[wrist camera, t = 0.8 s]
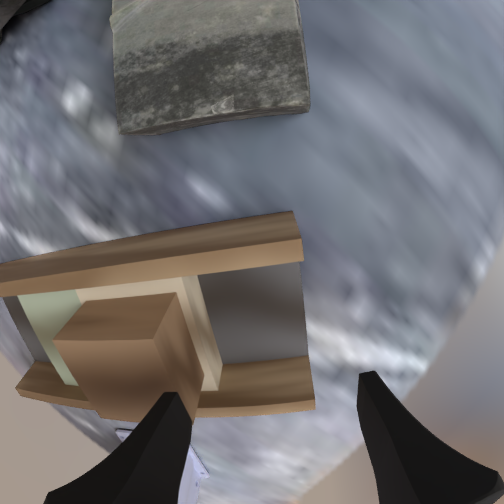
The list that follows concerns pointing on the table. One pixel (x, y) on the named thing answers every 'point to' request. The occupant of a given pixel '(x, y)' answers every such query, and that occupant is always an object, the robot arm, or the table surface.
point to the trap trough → (192, 303)
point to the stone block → (206, 62)
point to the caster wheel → (16, 9)
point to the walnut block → (131, 354)
